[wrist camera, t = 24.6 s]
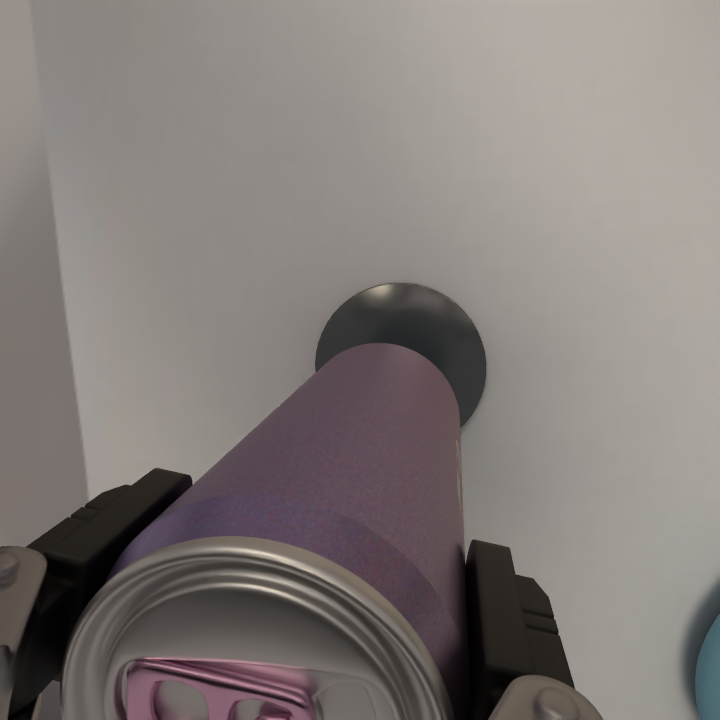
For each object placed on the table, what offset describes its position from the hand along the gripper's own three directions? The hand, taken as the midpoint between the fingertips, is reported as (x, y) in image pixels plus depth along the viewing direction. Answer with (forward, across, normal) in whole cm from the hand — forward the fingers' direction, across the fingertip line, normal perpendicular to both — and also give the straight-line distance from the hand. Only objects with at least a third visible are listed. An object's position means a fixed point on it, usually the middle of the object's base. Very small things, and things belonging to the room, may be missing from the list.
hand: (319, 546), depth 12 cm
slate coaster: (+19, 0, 0) cm, 19 cm away
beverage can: (+11, 0, 0) cm, 11 cm away
